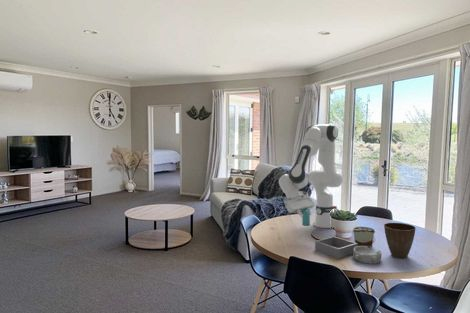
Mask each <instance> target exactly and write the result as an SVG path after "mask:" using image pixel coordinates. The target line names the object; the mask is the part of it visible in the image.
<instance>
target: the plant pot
mask: <svg viewBox="0 0 470 313" xmlns="http://www.w3.org/2000/svg"><path fill="white" fill-rule="evenodd" d="M383 227H384V228H383V230H384V234H385V238H386V243H387V245H388V249H389V252H390V254H391V256H392V257H394V258H397V259H407V258H408V256H409V254H410V251H411V248H412V245H413V242H414V238H415V235H416V229H417V228H416V227H415V225H412V224H410V223H409V224H408V223H404V222H386V223H384V225H383Z"/></svg>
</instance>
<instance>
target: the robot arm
mask: <svg viewBox="0 0 470 313" xmlns="http://www.w3.org/2000/svg"><path fill="white" fill-rule="evenodd" d="M338 136H339V128H338V126H336V125H335V124H325V123H323V124H311V125H309V126H308V127H307V129H306V131H305V135H304V138H303V140H302V144H301V147H300V149H299V153H298V155H297V157H296V160H295V163H294V164H293V166H292V167H291V169H289V172H288V173H287V174H286V173H284V174H282V175H281V176H280V177H279V179H278V185H279V187H280V189H281V191H282V192H283V193H284V194H285V196H286V198H284V200H283V203H284V206H285V207H286V210H287V212H288V213H289V214H293V213H297V214H298V215H299V216H300V217H301V218H302V217H304V216H305V215H304V213H302V210H310V216H311V215H312V212H311V209H313V208H314V206H315V217H314V221H313V224H314V226H315V227H317V228H322V229H332V228H331V224H330V215H329V213H330V211H331V210H332V209H334V210H336V209H338V206H336V205H333V204H334V196H333V194H332V193H331V192H330V191H329V189H328V188H339V187H340V186H341V185H342V184H343V176H342V174H341V173H340V172H339V171H338V169H337V167H336V163H335V162H336V161H335V158H336V157H335V154H336V153H335V152H336V141H335V140H336V139H337V137H338ZM317 153H318V157H317V162H318V163H319V164H320V165H321V166H322V168H323V170H321V169H320V170H319V169H315V170H311V171H310V172H309V173H308V175H307V173H306V165H307V162H308V161H309V160H308V159H309V157H313V156H315V155H316V154H317ZM309 184H311V186H312V187H313V189H314V191H315V195H316V196H315V197H316V205H315V202H314V201H313V199H312V197H311V196H309V194H308V192H306V191H303V190H301V189H304V188H305V187H307V186H308V185H309Z"/></svg>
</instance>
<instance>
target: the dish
mask: <svg viewBox="0 0 470 313" xmlns="http://www.w3.org/2000/svg"><path fill="white" fill-rule="evenodd" d="M352 255H353V259H354V260H356V261H357V262H360V263H363V264H371V265H374V264H379V263H380V262H381V261H382V252H381V250H378V251H377V252H374V251H372V250H371V249H370V248H369V247H367V246H357V247H355V248H354V249H353V254H352Z"/></svg>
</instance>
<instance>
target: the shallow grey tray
mask: <svg viewBox="0 0 470 313" xmlns="http://www.w3.org/2000/svg"><path fill="white" fill-rule="evenodd" d="M314 244H315V245H314V250H315V251H317V252H320V253H322V254H325V255H327V256H330V257H333V258H335V259H337V260H338V259H342V258H344V257H348V256H350V255H353V249H354V248H355V247H357V246H358V243H355V241H351V240H348V239H344V238H342V237H338V236H334V235H333V236H329V237H326V238H321V239H319V240H315V241H314Z"/></svg>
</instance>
